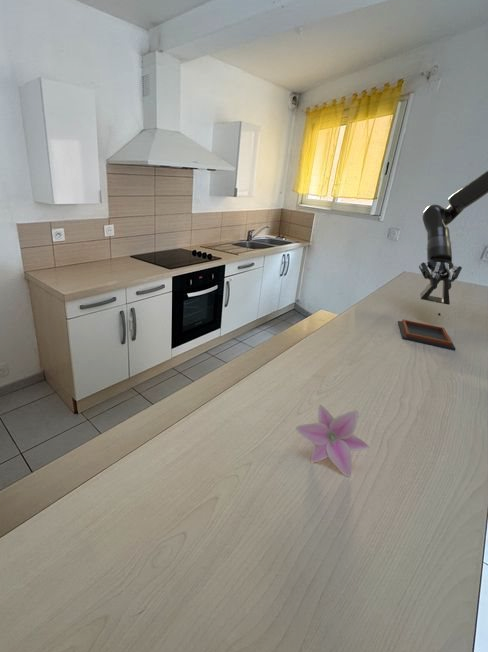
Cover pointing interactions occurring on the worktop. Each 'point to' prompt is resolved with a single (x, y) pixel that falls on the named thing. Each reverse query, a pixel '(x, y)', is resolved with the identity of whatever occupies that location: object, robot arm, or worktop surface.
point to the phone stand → (429, 289)
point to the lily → (334, 438)
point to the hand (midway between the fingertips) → (441, 289)
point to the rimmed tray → (425, 334)
